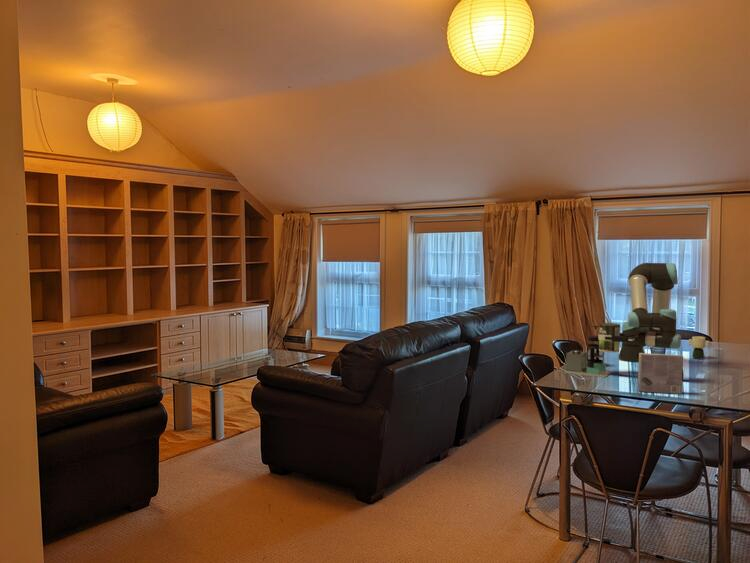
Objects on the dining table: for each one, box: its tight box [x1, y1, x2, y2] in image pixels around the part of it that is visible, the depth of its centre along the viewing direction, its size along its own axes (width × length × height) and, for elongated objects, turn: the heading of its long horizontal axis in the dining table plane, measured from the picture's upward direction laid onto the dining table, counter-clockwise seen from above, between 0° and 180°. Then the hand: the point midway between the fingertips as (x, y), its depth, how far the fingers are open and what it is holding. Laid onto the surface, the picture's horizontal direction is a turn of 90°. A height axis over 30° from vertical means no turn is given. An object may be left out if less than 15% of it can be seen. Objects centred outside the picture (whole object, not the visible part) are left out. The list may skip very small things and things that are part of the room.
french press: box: [586, 325, 605, 368], centre depth 332 cm, size 12×9×23 cm
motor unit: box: [563, 349, 612, 378], centre depth 315 cm, size 14×21×11 cm
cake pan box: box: [637, 352, 685, 395], centre depth 272 cm, size 19×5×18 cm, turn 77°
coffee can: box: [598, 322, 621, 353], centre depth 311 cm, size 10×10×14 cm
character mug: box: [688, 335, 710, 359], centre depth 355 cm, size 11×7×13 cm, turn 50°
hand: (601, 335), depth 313 cm, fingers closed on coffee can, 10 cm apart
